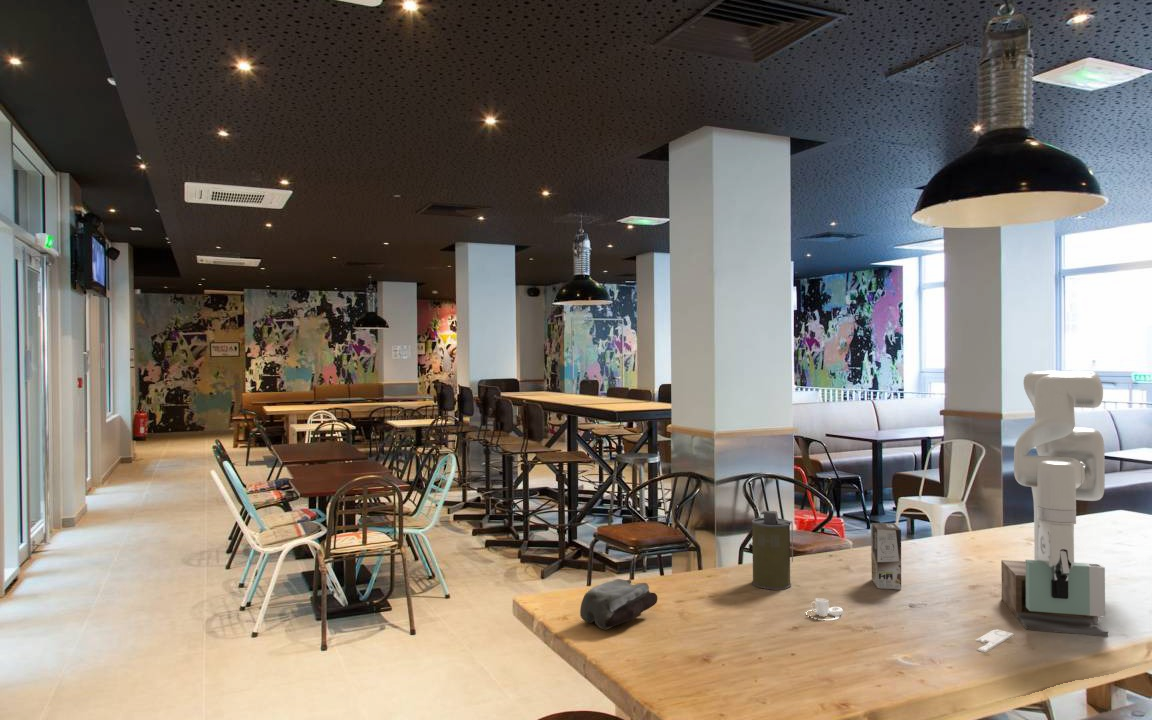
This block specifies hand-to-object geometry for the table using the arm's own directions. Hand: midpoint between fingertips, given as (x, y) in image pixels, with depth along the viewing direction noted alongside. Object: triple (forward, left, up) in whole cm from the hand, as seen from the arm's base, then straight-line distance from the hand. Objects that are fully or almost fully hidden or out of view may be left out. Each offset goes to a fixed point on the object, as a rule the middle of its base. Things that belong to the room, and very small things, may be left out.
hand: (1057, 594), depth 175 cm
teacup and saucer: (+6, -49, -8) cm, 50 cm away
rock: (+21, -98, -8) cm, 100 cm away
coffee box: (-26, -34, -8) cm, 44 cm away
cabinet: (-9, +1, -8) cm, 11 cm away
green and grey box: (0, +2, -4) cm, 4 cm away
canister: (-18, -64, -8) cm, 67 cm away
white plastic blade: (+12, -17, -8) cm, 23 cm away
